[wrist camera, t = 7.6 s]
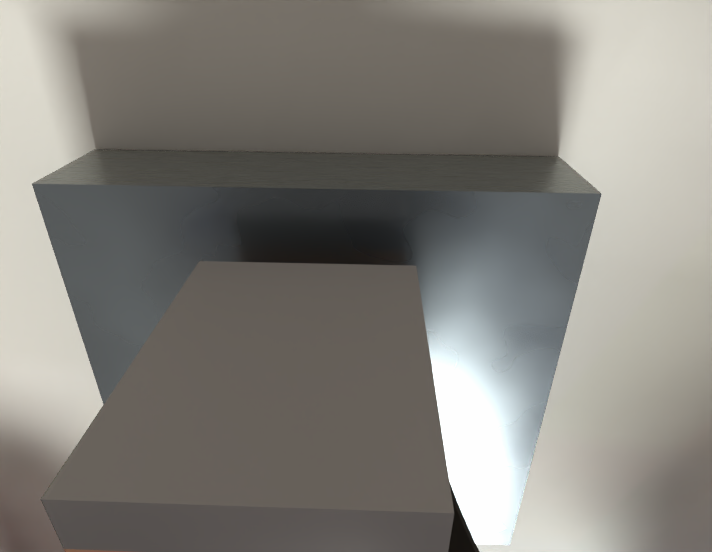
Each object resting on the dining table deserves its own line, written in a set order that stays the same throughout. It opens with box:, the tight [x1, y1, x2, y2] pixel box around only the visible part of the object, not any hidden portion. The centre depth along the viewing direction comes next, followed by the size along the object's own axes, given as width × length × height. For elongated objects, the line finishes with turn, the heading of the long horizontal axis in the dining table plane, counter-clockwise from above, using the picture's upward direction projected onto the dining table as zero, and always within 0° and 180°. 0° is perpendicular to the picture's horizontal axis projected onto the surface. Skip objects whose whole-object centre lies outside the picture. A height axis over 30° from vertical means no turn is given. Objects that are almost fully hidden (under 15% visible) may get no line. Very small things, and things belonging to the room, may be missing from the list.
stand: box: [32, 150, 601, 545], centre depth 13 cm, size 11×11×2 cm
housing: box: [41, 261, 454, 552], centre depth 9 cm, size 9×4×5 cm, turn 0°
